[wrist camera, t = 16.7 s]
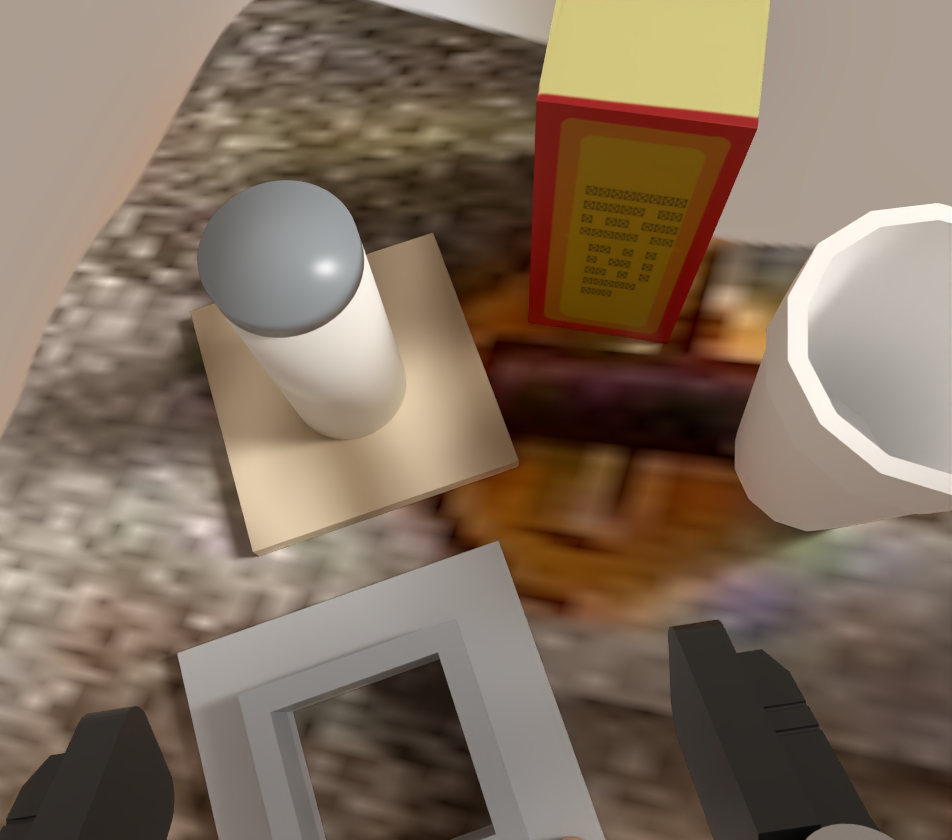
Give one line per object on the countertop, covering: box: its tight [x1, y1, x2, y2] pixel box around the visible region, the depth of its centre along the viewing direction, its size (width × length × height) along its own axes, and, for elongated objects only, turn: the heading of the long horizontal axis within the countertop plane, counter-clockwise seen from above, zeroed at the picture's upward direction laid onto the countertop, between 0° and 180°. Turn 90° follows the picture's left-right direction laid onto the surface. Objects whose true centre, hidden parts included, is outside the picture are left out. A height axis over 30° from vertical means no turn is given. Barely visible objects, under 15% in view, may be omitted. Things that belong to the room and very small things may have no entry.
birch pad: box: [190, 233, 519, 556], centre depth 39 cm, size 12×12×1 cm
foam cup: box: [735, 203, 952, 532], centre depth 32 cm, size 10×9×13 cm
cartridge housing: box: [177, 541, 605, 840], centre depth 33 cm, size 14×14×4 cm
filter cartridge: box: [197, 180, 407, 440], centre depth 33 cm, size 5×5×12 cm
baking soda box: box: [528, 0, 770, 343], centre depth 34 cm, size 10×6×16 cm
